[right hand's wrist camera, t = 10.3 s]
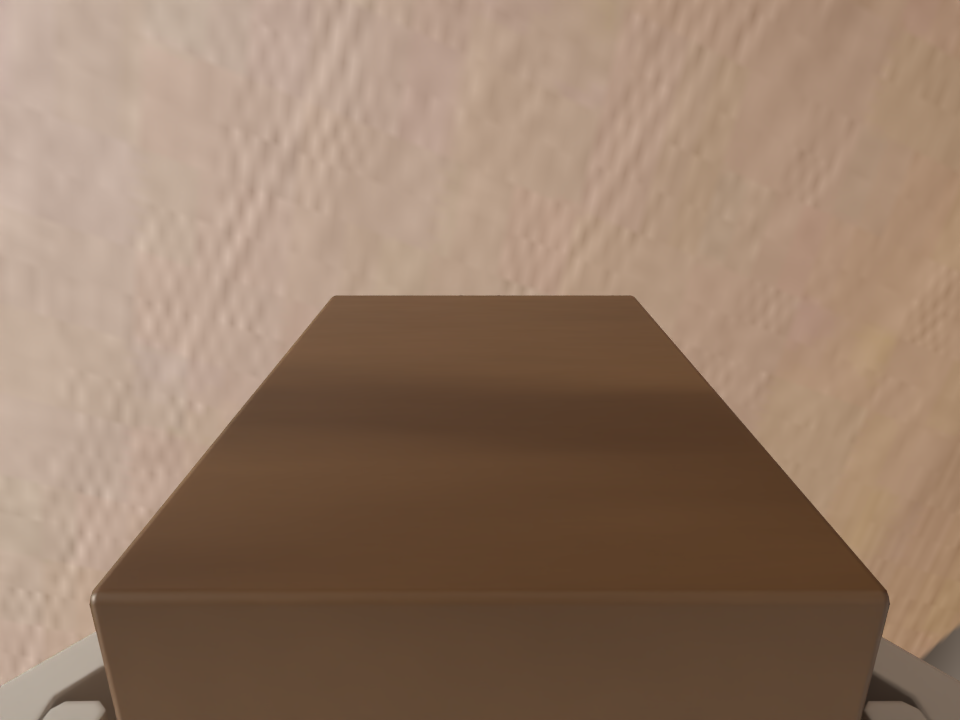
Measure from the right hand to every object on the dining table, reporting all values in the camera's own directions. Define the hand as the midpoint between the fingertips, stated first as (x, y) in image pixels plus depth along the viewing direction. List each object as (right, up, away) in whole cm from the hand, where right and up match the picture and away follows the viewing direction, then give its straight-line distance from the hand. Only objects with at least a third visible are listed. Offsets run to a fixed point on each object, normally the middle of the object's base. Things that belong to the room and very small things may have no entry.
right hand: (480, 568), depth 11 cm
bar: (0, -6, +5) cm, 8 cm away
